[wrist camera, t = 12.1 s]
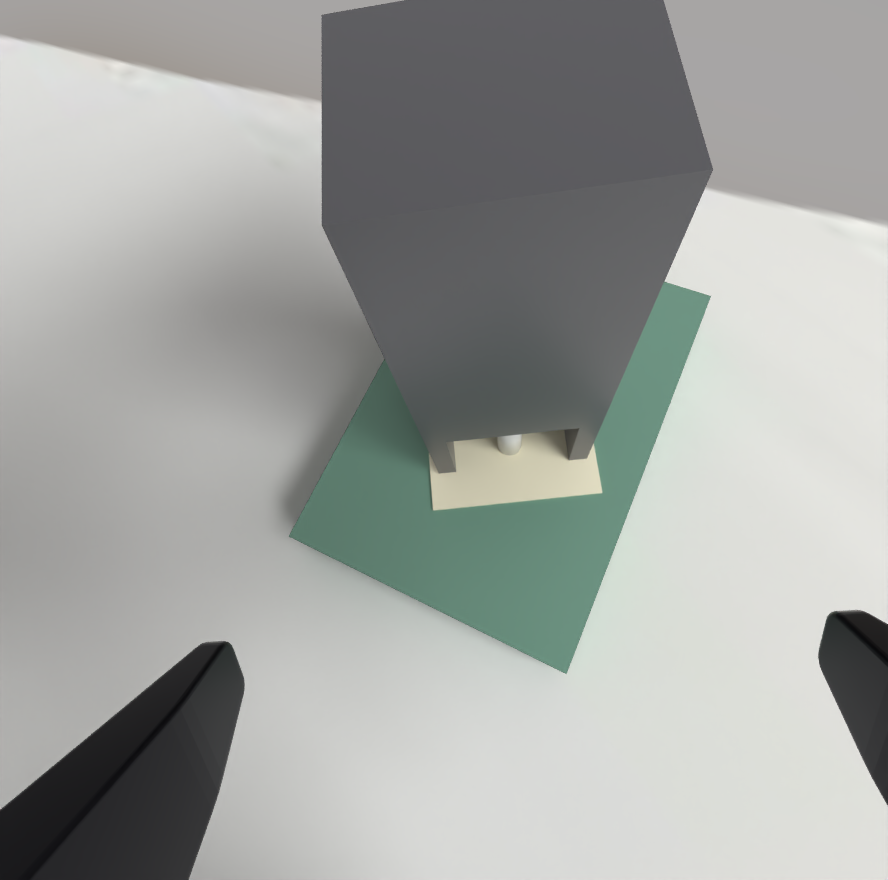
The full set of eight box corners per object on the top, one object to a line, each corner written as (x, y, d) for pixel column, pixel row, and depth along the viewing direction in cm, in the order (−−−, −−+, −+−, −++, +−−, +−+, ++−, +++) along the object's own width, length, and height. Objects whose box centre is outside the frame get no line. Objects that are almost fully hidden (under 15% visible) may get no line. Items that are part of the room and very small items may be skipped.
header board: (562, 670, 18) (575, 681, 14) (304, 542, 21) (257, 523, 17) (697, 318, 22) (737, 252, 18) (463, 242, 24) (454, 171, 20)
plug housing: (587, 458, 19) (713, 169, 7) (439, 473, 19) (321, 224, 7) (569, 352, 20) (650, -43, 8) (431, 368, 20) (321, 15, 9)
